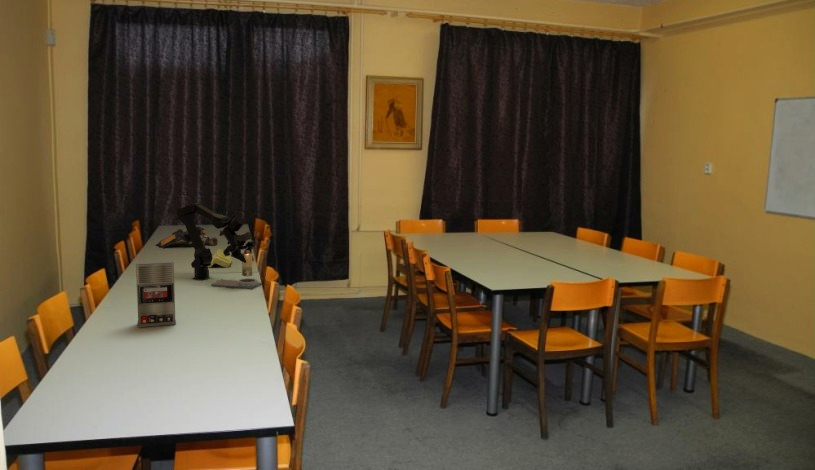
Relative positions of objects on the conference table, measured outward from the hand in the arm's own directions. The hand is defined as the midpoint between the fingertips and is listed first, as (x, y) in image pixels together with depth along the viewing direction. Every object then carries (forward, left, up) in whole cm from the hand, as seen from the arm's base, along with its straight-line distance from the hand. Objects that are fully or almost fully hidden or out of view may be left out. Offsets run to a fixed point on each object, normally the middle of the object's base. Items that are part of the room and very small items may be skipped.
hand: (249, 261), depth 313 cm
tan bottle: (-1, 0, -7) cm, 7 cm away
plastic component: (-39, +44, -13) cm, 60 cm away
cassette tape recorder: (-6, -69, -13) cm, 70 cm away
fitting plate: (-7, 0, -13) cm, 15 cm away
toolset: (-93, +97, -13) cm, 135 cm away
